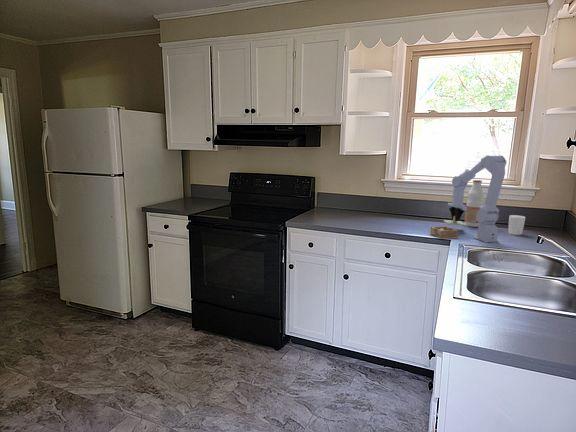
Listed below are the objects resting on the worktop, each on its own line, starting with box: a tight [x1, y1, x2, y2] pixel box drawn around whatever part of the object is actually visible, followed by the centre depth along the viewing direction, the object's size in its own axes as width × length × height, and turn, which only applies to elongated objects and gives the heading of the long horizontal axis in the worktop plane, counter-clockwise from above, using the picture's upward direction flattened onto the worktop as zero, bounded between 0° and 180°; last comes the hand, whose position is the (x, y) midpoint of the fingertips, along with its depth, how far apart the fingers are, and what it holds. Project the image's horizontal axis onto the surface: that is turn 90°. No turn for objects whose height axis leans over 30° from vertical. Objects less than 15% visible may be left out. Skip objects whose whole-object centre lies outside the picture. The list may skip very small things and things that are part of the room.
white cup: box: [508, 214, 526, 236], centre depth 226 cm, size 8×8×10 cm
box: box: [430, 225, 459, 239], centre depth 217 cm, size 10×10×4 cm
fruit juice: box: [463, 179, 485, 228], centre depth 243 cm, size 9×9×28 cm
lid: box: [443, 216, 467, 227], centre depth 231 cm, size 10×10×4 cm
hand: (455, 220), depth 231 cm, fingers closed on lid, 2 cm apart
